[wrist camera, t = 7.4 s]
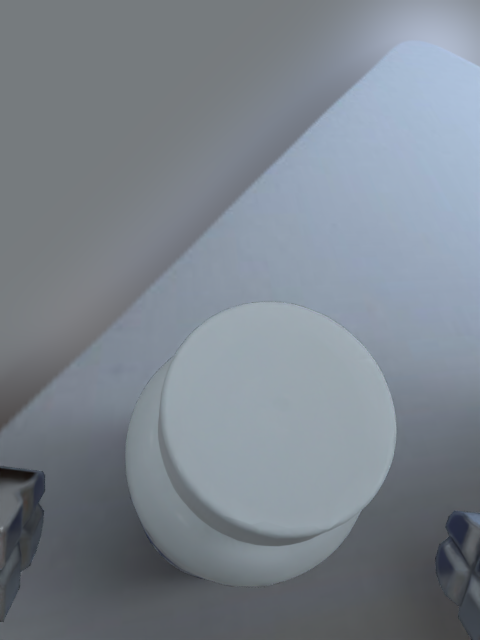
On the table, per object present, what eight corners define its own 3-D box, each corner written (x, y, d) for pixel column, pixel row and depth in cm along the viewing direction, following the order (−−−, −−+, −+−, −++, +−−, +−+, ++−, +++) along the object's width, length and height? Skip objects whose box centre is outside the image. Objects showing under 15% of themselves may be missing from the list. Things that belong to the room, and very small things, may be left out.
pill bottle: (249, 393, 18) (334, 236, 9) (317, 530, 16) (504, 489, 7) (114, 450, 16) (66, 318, 7) (171, 612, 14) (193, 682, 6)
